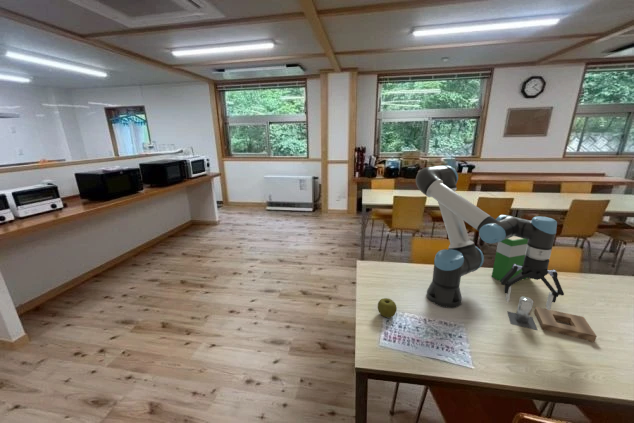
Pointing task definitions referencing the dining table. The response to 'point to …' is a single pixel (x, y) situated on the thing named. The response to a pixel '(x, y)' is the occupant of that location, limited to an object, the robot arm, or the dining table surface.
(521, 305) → the brushed steel cylinder
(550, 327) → the jig
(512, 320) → the pad
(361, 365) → the dining table surface
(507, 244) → the hardback book
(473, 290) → the dining table surface
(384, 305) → the apple
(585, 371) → the dining table surface
